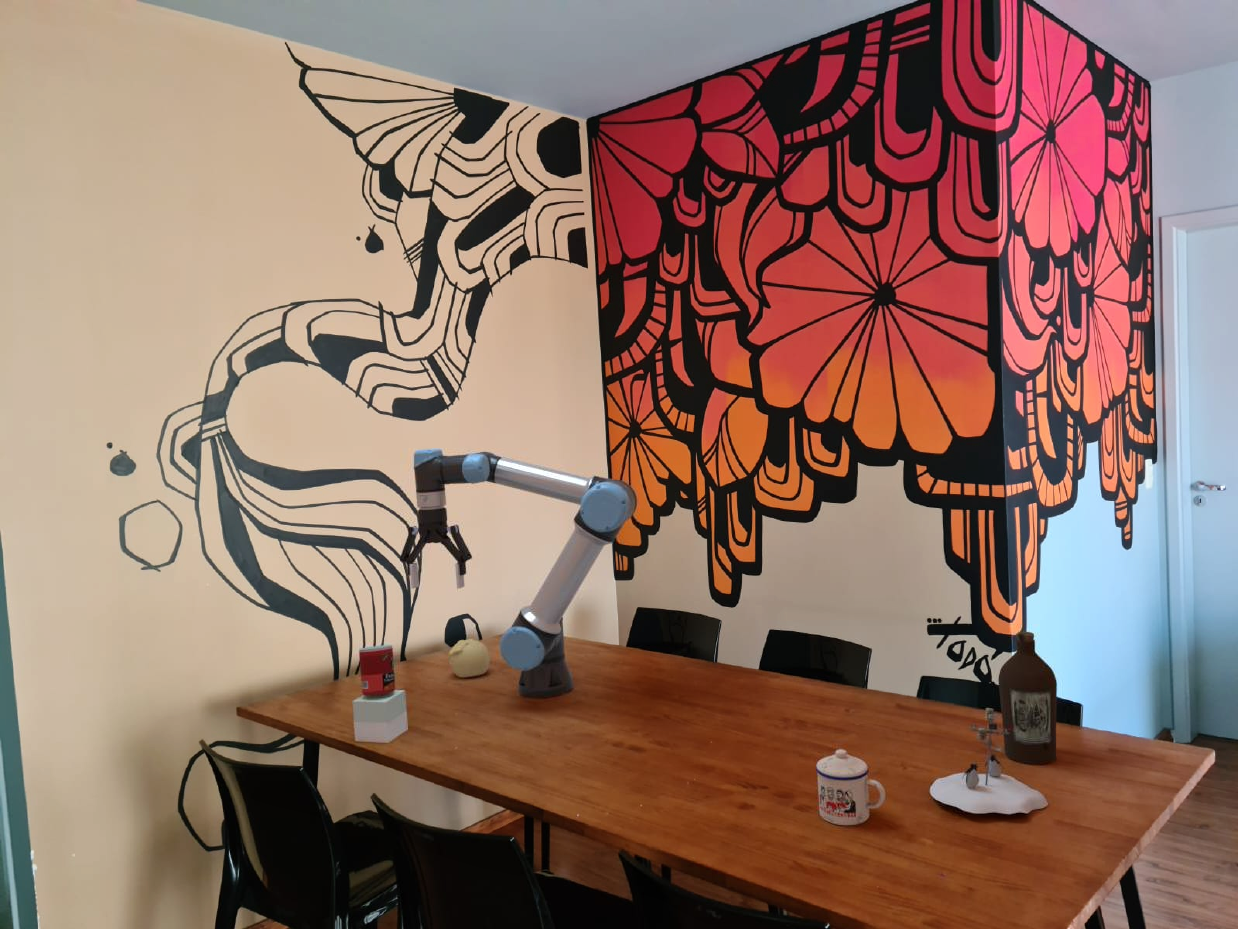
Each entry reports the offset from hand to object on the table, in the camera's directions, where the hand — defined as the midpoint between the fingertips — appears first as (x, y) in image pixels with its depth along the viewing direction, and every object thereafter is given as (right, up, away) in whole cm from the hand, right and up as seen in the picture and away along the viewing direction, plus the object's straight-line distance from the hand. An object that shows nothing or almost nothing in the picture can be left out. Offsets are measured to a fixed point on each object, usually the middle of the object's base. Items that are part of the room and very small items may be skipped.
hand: (437, 587), depth 231 cm
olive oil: (+131, -26, -55) cm, 144 cm away
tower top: (-10, -29, -19) cm, 36 cm away
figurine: (+115, -29, -73) cm, 139 cm away
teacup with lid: (+89, -30, -76) cm, 121 cm away
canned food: (-10, -23, -19) cm, 31 cm away
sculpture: (+4, -30, +29) cm, 42 cm away
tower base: (-10, -34, -18) cm, 39 cm away
